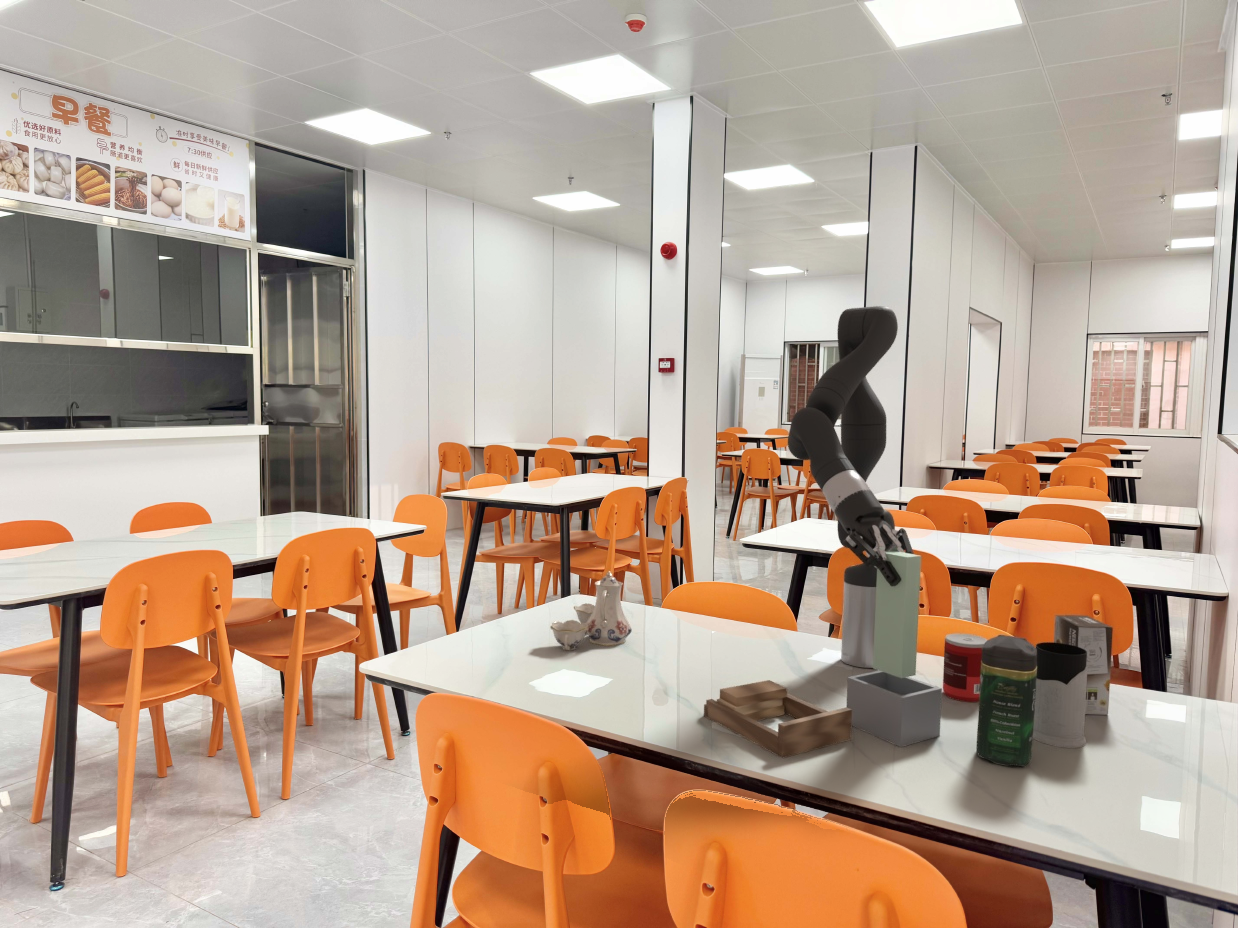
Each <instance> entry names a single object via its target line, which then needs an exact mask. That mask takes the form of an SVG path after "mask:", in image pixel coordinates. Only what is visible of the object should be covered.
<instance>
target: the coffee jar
mask: <svg viewBox="0 0 1238 928" xmlns="http://www.w3.org/2000/svg"><path fill="white" fill-rule="evenodd" d="M981 659H982V660H981V676H980V695H979V701H978V715H977V716H978V717H977V719H978V720H977V729H976V730H977V731H976V752H977V754H978V756H979V757H980V758H983V759H985V760H988V761H990V762H993V763H994V764H996V765H1000V766H1006V767H1007V766H1019V767H1023V766H1026V765H1028V764H1029V762H1030V761H1031V759H1032V755H1033V741H1034V739H1033V726H1034V714H1035V700H1036V680H1037V649H1036V645H1033V643H1031V642H1030V641H1028V640H1027V639H1026V638H1024V637H1019V636H1014V635H1013V636H1012V635H1006V634H998V635H997V636H994V637H991V638H989V639H987V641H986V642H985V644H984V645H983V648H982V658H981Z"/></svg>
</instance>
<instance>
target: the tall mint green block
mask: <svg viewBox="0 0 1238 928" xmlns="http://www.w3.org/2000/svg"><path fill="white" fill-rule="evenodd" d="M885 552H886V555H887V557H888V561H890V562H891V563H892V565H893V566H894V568H895V569H896V571H897V572H898V574H899V575H900V577H901V581H900V582H899V583H898V584H897V585H896V586H890V584H889V583H888V582H887V581H886V579H885V578H884V576H883V575H882V573H881V572H880V570H879V569H877V584H876V606H875V628H874V650H873V668H872V669H873V670H874V669H875V670H876V671H882V672H885V673H888V674H891V675H894V676H896V677H899V678H905V677H913V676H916V673H917V652H918V634H919V633H918V632H919V629H918V628H919V610H920V609H919V608H920V590H921V586H920V585H921V571H922V570H921V568H922V555H919V554H918V555H917V554H909V553H904V552H898V551H892V550H890V551H885ZM878 555H879V554H878ZM888 561H887V562H888Z"/></svg>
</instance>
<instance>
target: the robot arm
mask: <svg viewBox="0 0 1238 928" xmlns="http://www.w3.org/2000/svg"><path fill="white" fill-rule="evenodd" d="M898 325H899V324H898V319H897V316H896V313H895V311H894V310H893V309H892V308H891V307H889V306H881V305H876V306H875V305H874V306H865V307H852V308H846V309H845V310H842V312H841V314H840V316H839V319H838V323H837V333H836V334H837V347H838V348H837V349H838V362H836V363H834V364H833V365H832V366H830V367H829V368H828V369H827V370H826V371H825V372H824V373H823V374H822V375H821V376H820V378H819V379H818V381H817V382H816V384H815V386H814V388H813V389H812V390H811V392H810V394H809V396H808V398H807V400H806V401H807V402H806V405H805V407H803V408H801V409H799V410H797V411H796V412H795V413H794V414H793V417H792V419H791V423H790V426H789V432H788V436H787V447H788V450H789V452H790V454H791V455H792V456H793V457H794V458H796V459H799V460H802V461H809V467H810V468H809V469H810V473H811V475H812V477H813V479H814V481H815V482H816V484H817V485H818V486H817V487H819V489H820V490H821V492H822V493H823V496H824V497H825V500H826V502H827V504H828V505H829V507H830V509H831V510H832V512H833V513H834V515H835V517H836V518H837V535H838V539H839V542H840V544H841V545H842V547H844V548H846V549H849V550H850V551H851V552H852V553H853V554H854V555H855V556H856V557H857V558H858V559H860V561H861V562H862V563H860V564H855V565H850V566H848V567H846V568H845V570H844V574H843V600H842V601H843V602H842V603H843V604H842V625H841V626H842V627H841V630H842V631H841V648H840V649H841V655H840V657H841V658H840V660H841V662H843V663H844V664H847V665H849V666H852V667H853V666H854V667H858V668H866V669H867V668H868V669H874V668H873V650H874V628H875V606H876V584H877V569H879V570H880V572H881V573H882V575H883V576H884V578H885V579H886V581H887V582H888V583H889V584H890V586H896V585H897V584H898V583H899V582H900V581H901V577H900V575H899V574H898V572H897V571H896V569H895V568H894V566H893V565H892V563H891V562H890V561H888V557H887V555H886V552H885V551H890V550H892V551H898V552H904V553H909V554H914V551H913V547H912V545H911V541H910V539H909V536H908V533H907V530H906V529H904V528H902V527H901V528H899V530H897V529H896V525H895V519H894V516H893V514H892V513H891V512H890V511H889V510H886V509H885V508H884V507H883V506H882V505H881V503H880V501H879V500H878V498H877V497H876V495H875V494H874V493H873V491H872V489H871V488H870V487H869V485H868V484H867V480H868V478H869V477H870V475H871V473H872V472H873V470H874V469H875V468H876V465H877V464H878V463H879V461H880V460H881V457H882V456H883V454H884V452H885V449H886V447H887V446H886V445H887V414H886V410H885V409H884V406H883V405H882V402H881V401H880V399H879V397H878V396H877V394H876V393H875V391H874V390H873V388H872V387H871V384H870V383H869V381H868V379H867V377H866V376H867V375H868V374H869V373H870V372H871V371H872V370H873V369H874V367H875V366H876V365H877V364H878V363H879V362H880V361H881V360H882V358H884V356H885V355H886V354H887V352H888V351H889V350H890V349H891V348H892V346H893V344H894V343H895V341H896V338H897V335H898V330H899V329H898V327H899V326H898ZM840 417H841V418H840ZM839 418H840V438H839V436H838V434H837V431H836V429H835V425H836V423H837V421H838V420H839ZM864 553H865V554H866V555H865V554H864ZM878 554H879V555H878ZM914 555H915V554H914ZM887 561H888V562H887Z"/></svg>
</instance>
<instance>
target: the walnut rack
mask: <svg viewBox="0 0 1238 928" xmlns="http://www.w3.org/2000/svg"><path fill="white" fill-rule="evenodd" d="M782 705H784V714H787V715H789V716H791V717H794V719H792V720H788V721H787V720H786V721H785V722H780V723H778V724H777V725H778V726H777V730H776V729H773V728H771V727H769V726H767V725H765V724H764V723H762V722H759V721H755V720H753V719H751V718H749V717H747V716H745V715H743V714H741V713H739V712H737V711H735V710H733V709H731V708H729V707H727V706H725V705H723V704H721V703H719V702H717V700H715V699H713V698H710V699H709V698H708V699H706V700H705V704H703V717H705V718H707V719H709V720H710V721H713V722H714V723H717V724H718V725H721V726H722V727H724V728H726V729H728V731H729V730H730V731H731V732H733V733H736V734H737V735H739V736H741V737H743V738H745V739H746V740H748V741H750V742H752V743H754V744H756V745H757V746H759V747H761V748H763V749H765V750H766V751H769V752H771V753H773V754H775V755H776V756H778V757H780V758H782V759H784V758H787V757H791V756H795V755H798V754H802V753H807V752H810V751H814V750H817V749H821V748H825V747H828V746H832V745H835V744H840V743H843V742H846V741H851V739H852V725H851V722H852V709H849V708H847V706H846V707H843V708H839V709H833V710H830V711H827V710H826V709H823V708H821V707H819V706H816V705H815V704H813V703H809V702H808V701H805V700H803V699H801V698H797V697H796V696H794V695H791V694H789V693H787V697H784V698H783V702H782ZM795 718H796V719H795Z"/></svg>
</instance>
